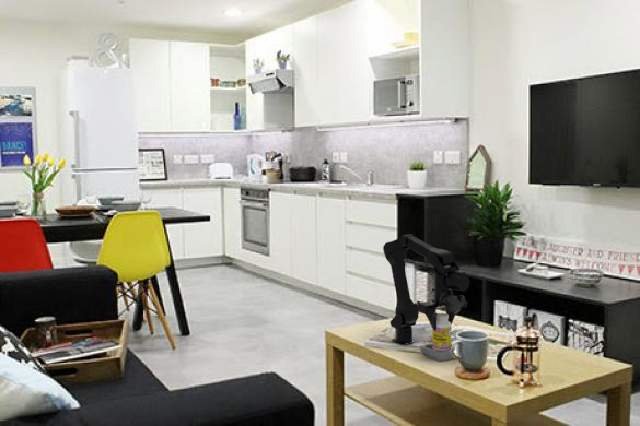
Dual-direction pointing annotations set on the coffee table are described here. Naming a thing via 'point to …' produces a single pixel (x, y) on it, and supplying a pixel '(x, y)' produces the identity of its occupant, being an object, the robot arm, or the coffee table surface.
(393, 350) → the coffee table surface
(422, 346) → the walled box
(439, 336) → the supplement bottle
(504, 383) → the coffee table surface
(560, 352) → the coffee table surface
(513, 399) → the coffee table surface
